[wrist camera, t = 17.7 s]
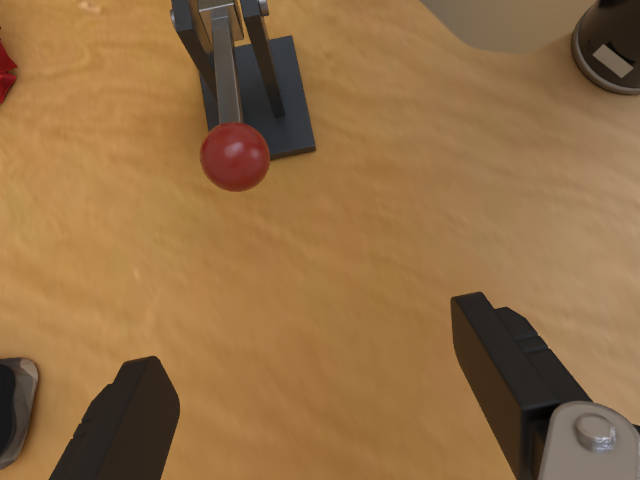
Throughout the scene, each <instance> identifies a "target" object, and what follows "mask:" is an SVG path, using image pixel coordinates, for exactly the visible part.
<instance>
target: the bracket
mask: <svg viewBox="0 0 640 480" xmlns="http://www.w3.org/2000/svg"><path fill="white" fill-rule="evenodd" d="M171 2H172V8H173V9H171V10H170V16H171V20H172V23H173V26H174V28H175V30H176V32H177V34H178V36H179V37H180V39H181V41H182V43H183V44H184V46H185V48H186V50H187V51H188V53H189V55H190V57H191V58H192V60H193V62H194V63H195V65H196V67H197V69H198V70H199V75H200V81H201V87H202V93H203V99H204V105H205V111H206V117H207V123H208V129H209V132H210V131H211V130H212V129H213V128H214V127H216V126H218V125H220V123H219V111H218V99H217V87H216V75H215V63H214V51H213V46H211V44H210V42H209V39H208V37H207V34H206V31H205V29H204V26H203V23H202V21H201V18H200V15H199V13H198V2H197V0H171ZM240 3H241V9H242V14H243V18H244V22H245V25H246V28H247V31H248V34H249V37H250V41H251V44H248V45H243V46H238V47H235V54H236V62H237V70H238V78H239V86H240V94H241V103H242V111H243V119H244V123H245V124H247V125H250V126H251V127H253V128H255V129H256V130H257V131H258V132H259V133H260V134H261V135H262V136H263V138H264V139H265V141H266V143H267V145H268V148H269V152H270V160H273V159H278V158H283V157H287V156H292V155H297V154H302V153H307V152H311V151H316V147H315V142H314V137H313V132H312V127H311V123H310V118H309V113H308V109H307V104H306V99H305V95H304V90H303V85H302V81H301V76H300V71H299V67H298V62H297V57H296V53H295V48H294V43H293V38H292V35H291V36H286V37H281V38H276V39H272V40H269V37H268V33H267V29H266V25H265V21H264V17H263V16H268V15H269V10H268V5H267V1H266V0H240Z"/></svg>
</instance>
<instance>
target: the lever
mask: <svg viewBox="0 0 640 480" xmlns="http://www.w3.org/2000/svg"><path fill="white" fill-rule="evenodd" d="M197 2H198V13H199V15H200V18H201V21H202V23H203V26H204V29H205V31H206V34H207V37H208V39H209V42H210V44H211V46H213V51H214V63H215V75H216V87H217V99H218V111H219V123H220V125H218V126H216V127H214V128H213V129H212V130H211V131H210V132H209V133H208V134H207V135H206V137H205V138H204V140H203V142H202V145H201V149H200V162H201V166H202V169H203V171H204V173H205V175H206V176H207V177H208V179H209V180H210V181H211V182H212V183H213V184H215V185H216V186H218V187H219V188H221V189H224V190H227V191H231V192H241V191H246V190H249V189H251V188H253V187H255V186H256V185H258V184H259V183H260V182H261V181H262V180H263V178H264V177H265V175H266V173H267V171H268V169H269V164H270V152H269V148H268V145H267V143H266V141H265V139H264V138H263V136H262V135H261V134H260V133H259V132H258V131H257V130H256V129H255V128H253V127H251V126H250V125H247V124H245V123H244V119H243V111H242V103H241V94H240V86H239V78H238V70H237V62H236V54H235V45H234V41H238V40H243V39H244V34H243V27H242V20H241V13H240V10H239V6H238V2H237V0H197Z"/></svg>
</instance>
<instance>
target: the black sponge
mask: <svg viewBox="0 0 640 480" xmlns="http://www.w3.org/2000/svg"><path fill="white" fill-rule="evenodd" d="M37 382H38V372H37V369H36V367H35V365H34V364H33V362H32V361H31V360H28V359H26V358H7V359H0V470H1V469H4V468H5V467H7V466H9V465H11V464H12V463H13V462H14V461H16V459H17V457H18V456H19V454H20V452H21V450H22V447H23V444H24V442H25V439H26V435H27V432H28V428H29V422H30V415H31V410H32V406H33V400H34V396H35V391H36V387H37Z"/></svg>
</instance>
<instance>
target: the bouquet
mask: <svg viewBox="0 0 640 480" xmlns="http://www.w3.org/2000/svg"><path fill="white" fill-rule="evenodd" d="M0 29H1V27H0ZM0 40H1V39H0ZM17 67H18V66H17V65H16V64H15V63H14V62H13V61H12V60H11V59H10V58H9V57H8V55H7V53H6V51H5V49H4V47H3V45H2V43H1V42H0V103H2V102H3V100H4V97H5V94H6V92H7V90H8V89H9V88H10V86H11V85H12V84H13V82H14V81H15V80H16V78H17V77H16V76H14V75H12V74H10V73H8V72H6V71H9V70H13V69H12V68H17Z"/></svg>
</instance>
